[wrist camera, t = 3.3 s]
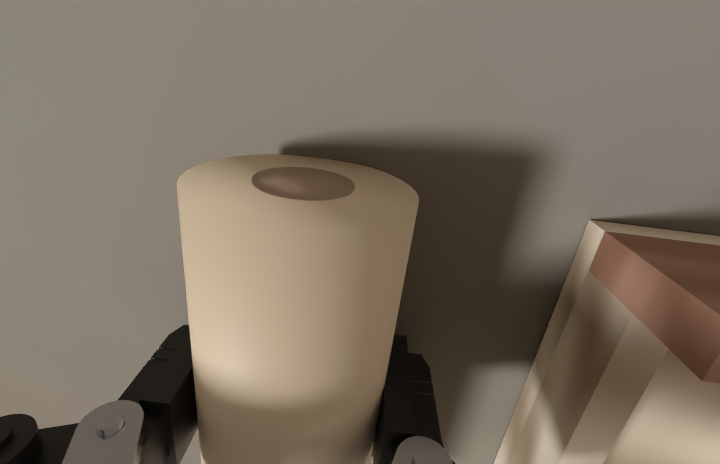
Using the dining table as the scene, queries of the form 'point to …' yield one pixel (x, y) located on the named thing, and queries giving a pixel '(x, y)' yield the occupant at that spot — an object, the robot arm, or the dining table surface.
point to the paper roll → (292, 303)
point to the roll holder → (627, 356)
